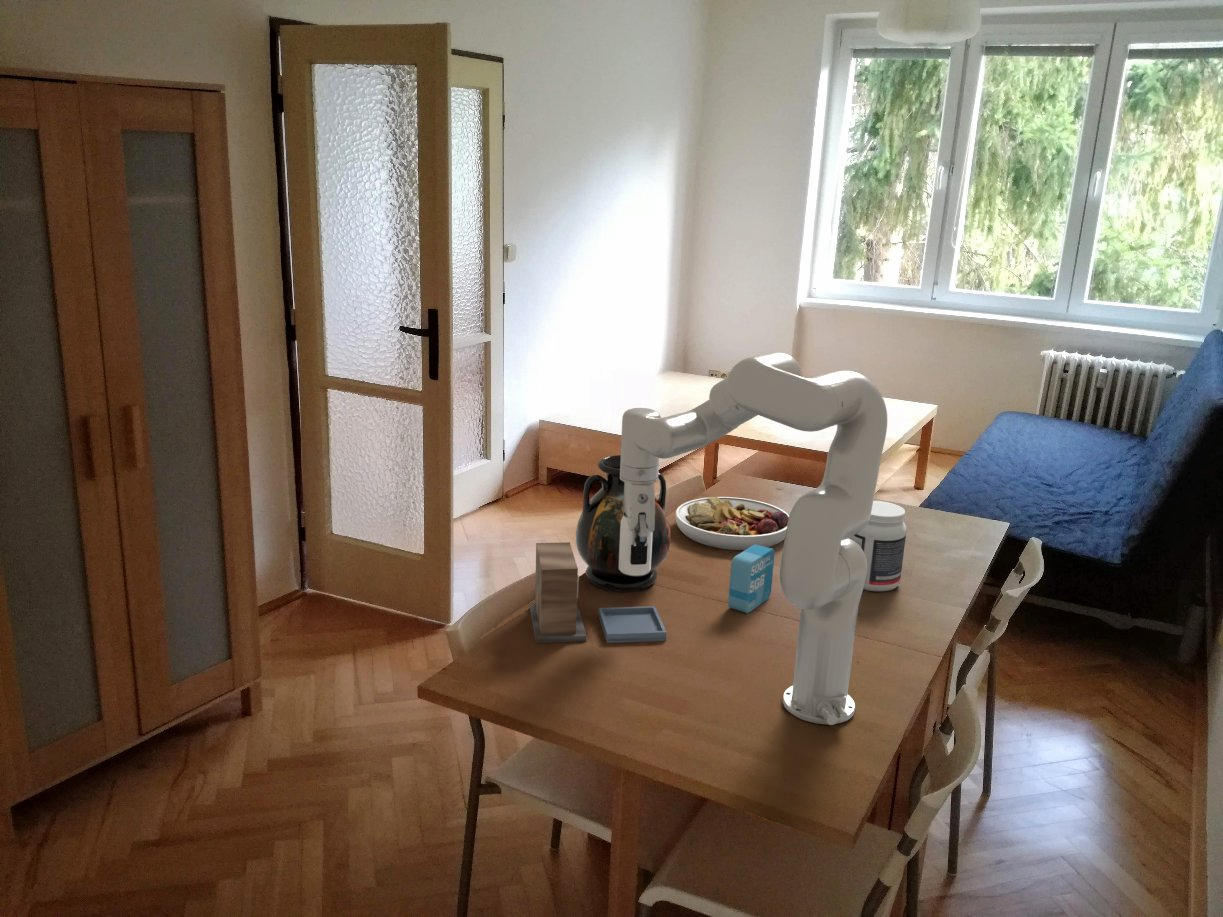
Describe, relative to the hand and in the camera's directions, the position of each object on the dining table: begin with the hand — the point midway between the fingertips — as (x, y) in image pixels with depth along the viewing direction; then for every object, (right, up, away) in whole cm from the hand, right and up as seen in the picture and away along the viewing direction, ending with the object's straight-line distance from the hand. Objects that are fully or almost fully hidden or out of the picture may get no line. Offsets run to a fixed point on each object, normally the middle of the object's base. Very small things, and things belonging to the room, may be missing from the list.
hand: (635, 556), depth 198 cm
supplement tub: (+56, -10, +32) cm, 65 cm away
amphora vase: (-3, -8, +29) cm, 30 cm away
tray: (-1, -15, +5) cm, 16 cm away
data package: (+25, -12, +19) cm, 34 cm away
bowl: (+27, 0, +60) cm, 66 cm away
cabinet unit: (-16, -14, +5) cm, 22 cm away
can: (0, -3, +1) cm, 3 cm away
